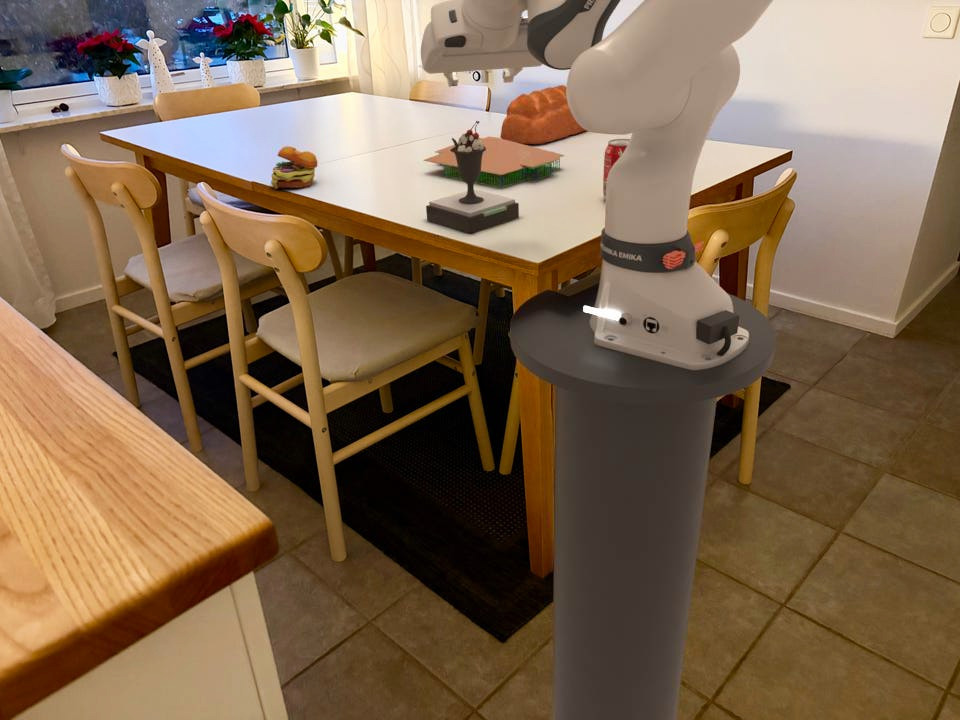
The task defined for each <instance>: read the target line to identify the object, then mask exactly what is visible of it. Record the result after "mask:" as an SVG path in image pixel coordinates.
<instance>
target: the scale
mask: <svg viewBox="0 0 960 720" xmlns="http://www.w3.org/2000/svg"><path fill="white" fill-rule="evenodd" d="M474 193H475V195H476V196H478V197H482V198H483V199H484V200H483V201H482V202H480V203H476V204H463V203H460V202H459V199H460V198H463V197H465V196H466V195H467V190H466V191H462V192H459V193H456V194H452V195H449V196H444V197H441V198H437V199H434V200H431V201H429V202H428V205H426V206H425V211H426V221H427V222H432V223H433V224H436V225H437V224H438V225H441V226H444V227H447V228H451V229H453V230H457V231H459V232H460V231H461V232H463V233H467V234H474V233H477V232H480V231H483V230H486V229H489V228H493V227H495V226H498V225H501V224H505V223H507V222H511V221H513V220H516V219H517V220H518V219H519V218H520V210H519V209H520V208H519V202H516V199H515V198H512V197H508V196H503V195H500V194H496V193H490V192H487V191H482V190H478V189H475V188H474Z"/></svg>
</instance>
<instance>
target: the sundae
mask: <svg viewBox="0 0 960 720" xmlns="http://www.w3.org/2000/svg"><path fill="white" fill-rule="evenodd" d="M479 124H480V121H479V120H476V121H475V123H474V124H473V126H472V127H471V128H470V129H467V130H466V132H465V133H462V134H461V136H460V137H459V138H458V141H457V140H456V139H455V138H453V137H452V138H451V140H452V142H453V145H455V147H454V148H452V149H451V150H450V151H451V152H453V153H454V154H455V156H456V160H457V165H458V168H457V172H458V171H459V179H462V180H461V181H463V182H465V183H466V184H467V186H466V187H467V190H466V191H467V195H466V196H465V197H463V198H460V199H459V202H460V203H463V204H476V203H480V202H482V201H483V200H484V199H483V198H482V197H478V196H476V195H475V193H474V189H475V187H474V184H475V182H476V181H478V178H479V179H480V178H481V175H480V173H481V162H482V155H483V152H484V151H485V150H486V147H485V146H483V143H482V141H481V140H480V139H478V138H480V134H479V133H478V132H477V126H478V125H479ZM474 127H475V128H474ZM473 129H474V131H473ZM458 144H459V145H458Z"/></svg>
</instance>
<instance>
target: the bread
mask: <svg viewBox="0 0 960 720" xmlns="http://www.w3.org/2000/svg"><path fill="white" fill-rule="evenodd" d="M585 131H586V130H585V129H584V128H582V127H581V126H580V125H579V124H578V123H577V122H576V120H575V119H574V117H573V115H572V113H571V111H570V109H569V106H568V102H567V95H566V85H563V84H561V85H560V84H559V85H557V86H553V87H550V86H549V87H546V88H541V89H540V90H533V91H532V92H529V94H526V93H521V94H520V95H519V96H516V98H514V99H513V100H512V101H511V102H510V103H509V105H508V106H507V108H506V117H505V118H504V119H503V120H502V125H501V130H500V137H499V138H500V139H504V140H508V141H512V142H516V143H519V144H523V145H542V144H546V143H548V142H553V141H557V140H561V139H564V138H567V137H569V136H572V135H577V134H578V133H582V132H585Z"/></svg>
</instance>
